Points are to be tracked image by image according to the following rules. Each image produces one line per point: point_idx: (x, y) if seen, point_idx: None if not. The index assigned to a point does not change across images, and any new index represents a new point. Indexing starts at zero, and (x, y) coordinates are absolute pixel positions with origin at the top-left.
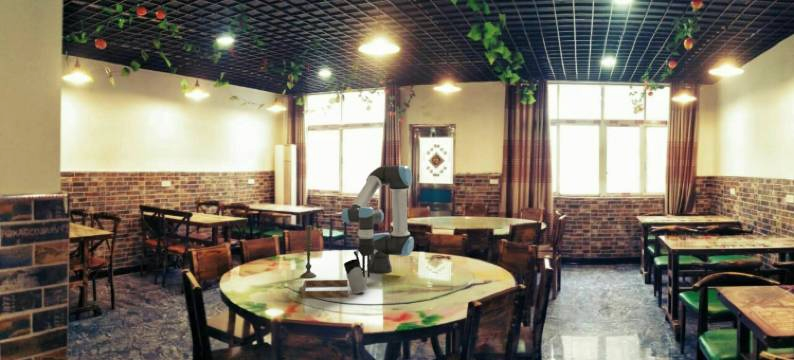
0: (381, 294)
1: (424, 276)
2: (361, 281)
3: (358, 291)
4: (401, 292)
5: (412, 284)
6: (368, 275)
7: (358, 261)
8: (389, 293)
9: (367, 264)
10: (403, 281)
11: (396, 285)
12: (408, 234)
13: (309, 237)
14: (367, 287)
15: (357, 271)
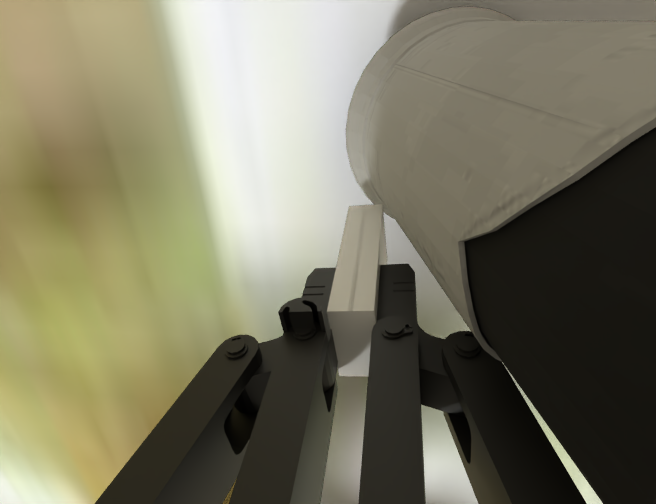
0: (189, 44)
1: (50, 495)
2: (435, 67)
3: (470, 16)
4: (23, 139)
5: (43, 365)
6: (322, 285)
7: (624, 403)
8: (119, 95)
9: (305, 423)
10: (127, 428)
11: (141, 349)
12: None
13: None
14: (347, 133)
15: (583, 72)
